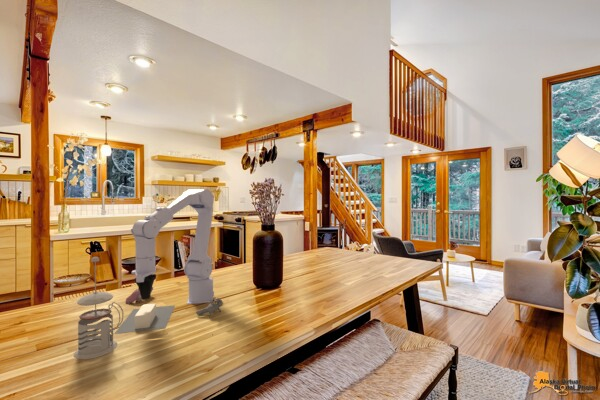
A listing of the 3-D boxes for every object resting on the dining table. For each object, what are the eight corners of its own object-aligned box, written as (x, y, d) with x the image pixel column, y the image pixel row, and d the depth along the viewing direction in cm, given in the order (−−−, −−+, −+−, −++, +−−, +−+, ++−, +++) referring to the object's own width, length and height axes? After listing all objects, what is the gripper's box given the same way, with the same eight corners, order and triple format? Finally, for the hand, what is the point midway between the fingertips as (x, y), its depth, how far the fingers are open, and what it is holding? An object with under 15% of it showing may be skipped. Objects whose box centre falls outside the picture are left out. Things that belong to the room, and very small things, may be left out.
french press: (88, 341, 84) (87, 253, 84) (130, 339, 85) (130, 252, 85) (63, 360, 74) (62, 261, 74) (112, 358, 75) (111, 260, 75)
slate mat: (175, 306, 110) (175, 305, 110) (165, 329, 91) (165, 328, 91) (133, 310, 107) (133, 309, 107) (114, 335, 87) (114, 333, 87)
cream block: (155, 303, 101) (148, 314, 92) (155, 314, 101) (149, 327, 92) (143, 304, 100) (134, 316, 91) (143, 316, 100) (134, 328, 91)
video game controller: (132, 309, 112) (139, 293, 112) (123, 302, 113) (130, 287, 112) (150, 300, 122) (157, 285, 121) (141, 294, 123) (148, 279, 122)
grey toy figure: (201, 310, 107) (225, 300, 108) (204, 326, 103) (228, 316, 104) (190, 301, 99) (216, 290, 100) (192, 318, 95) (219, 306, 96)
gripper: (138, 253, 102) (138, 292, 102) (124, 262, 88) (125, 307, 88) (160, 252, 104) (160, 290, 104) (150, 260, 90) (151, 305, 90)
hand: (145, 298), depth 96 cm, fingers closed
